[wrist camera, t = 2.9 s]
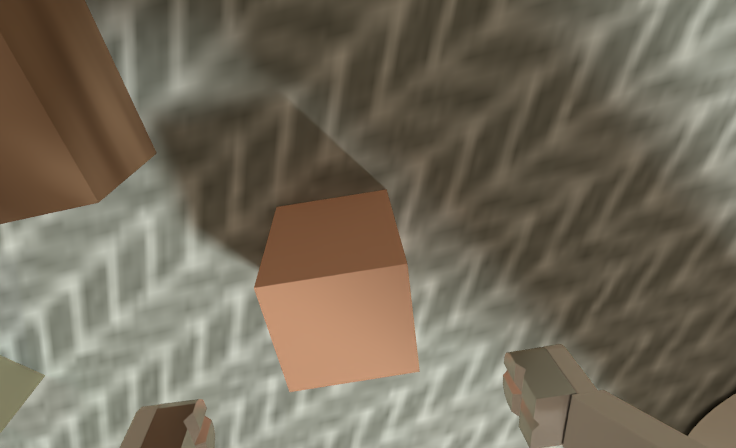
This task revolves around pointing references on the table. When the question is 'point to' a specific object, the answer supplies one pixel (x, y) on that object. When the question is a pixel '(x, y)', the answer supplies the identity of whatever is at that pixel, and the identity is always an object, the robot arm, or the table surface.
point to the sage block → (15, 388)
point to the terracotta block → (337, 292)
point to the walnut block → (61, 111)
